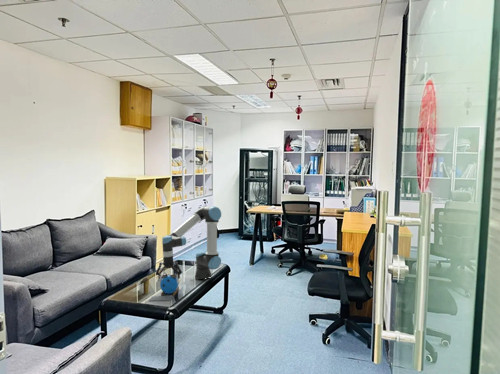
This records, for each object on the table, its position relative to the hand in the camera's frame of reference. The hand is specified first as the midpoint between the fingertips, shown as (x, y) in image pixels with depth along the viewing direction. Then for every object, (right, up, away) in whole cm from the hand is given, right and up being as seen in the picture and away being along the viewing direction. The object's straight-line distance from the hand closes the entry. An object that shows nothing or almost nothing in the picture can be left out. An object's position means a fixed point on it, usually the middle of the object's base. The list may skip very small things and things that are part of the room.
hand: (169, 283), depth 261 cm
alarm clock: (0, -8, 0) cm, 8 cm away
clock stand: (0, -8, +1) cm, 8 cm away
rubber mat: (-3, -9, -11) cm, 15 cm away
